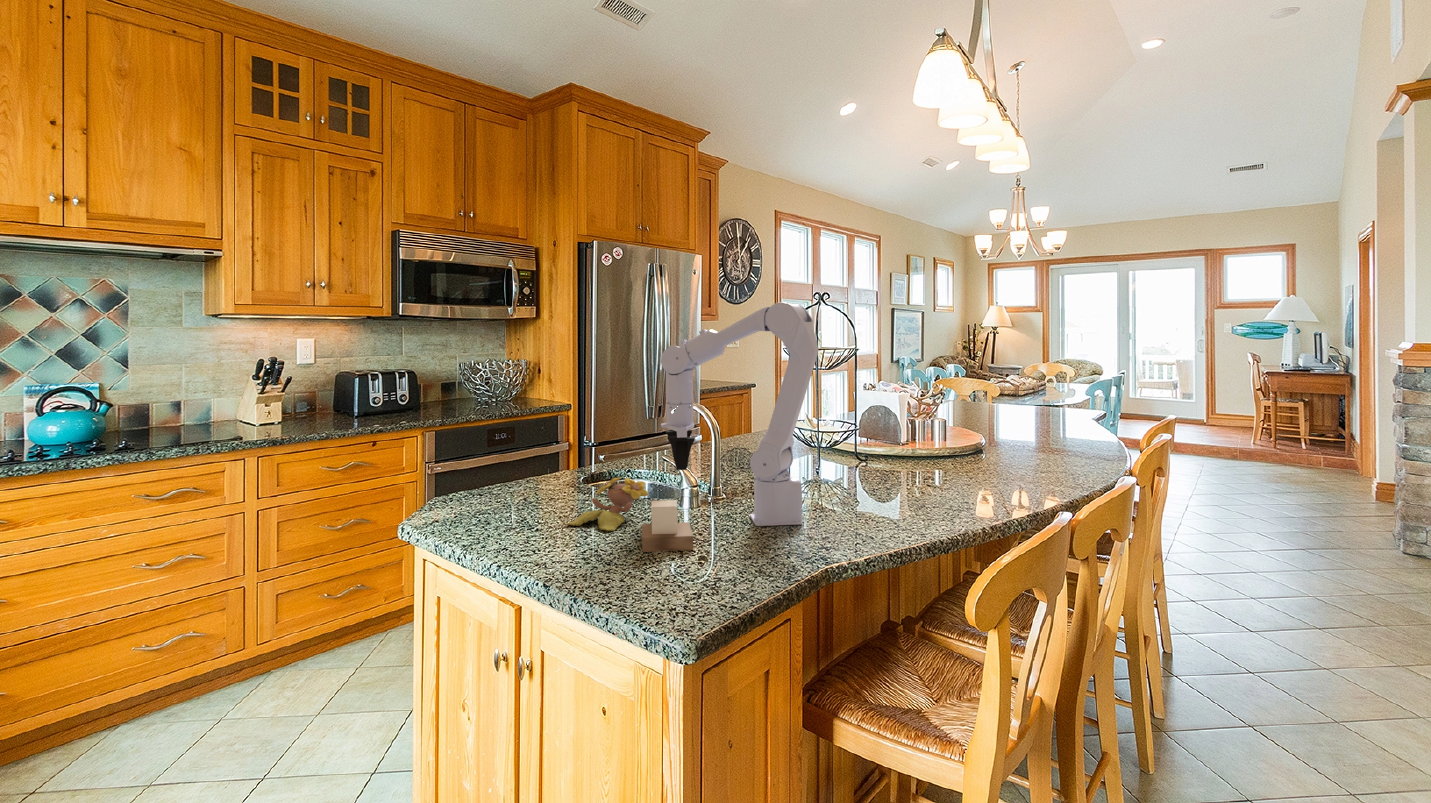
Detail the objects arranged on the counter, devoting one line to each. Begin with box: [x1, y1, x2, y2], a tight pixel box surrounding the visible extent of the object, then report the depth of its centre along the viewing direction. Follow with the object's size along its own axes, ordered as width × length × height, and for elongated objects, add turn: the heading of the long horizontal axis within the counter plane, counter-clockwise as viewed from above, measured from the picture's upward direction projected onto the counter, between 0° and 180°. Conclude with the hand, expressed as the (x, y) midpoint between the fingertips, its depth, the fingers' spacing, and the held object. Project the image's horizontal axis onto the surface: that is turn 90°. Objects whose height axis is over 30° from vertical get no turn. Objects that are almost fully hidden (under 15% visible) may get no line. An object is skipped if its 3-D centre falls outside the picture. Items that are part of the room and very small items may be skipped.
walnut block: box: [641, 521, 694, 553], centre depth 126 cm, size 9×9×3 cm
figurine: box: [566, 476, 650, 532], centre depth 142 cm, size 12×9×15 cm
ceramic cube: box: [650, 499, 678, 534], centre depth 125 cm, size 5×5×5 cm
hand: (680, 466), depth 147 cm, fingers open, 7 cm apart
